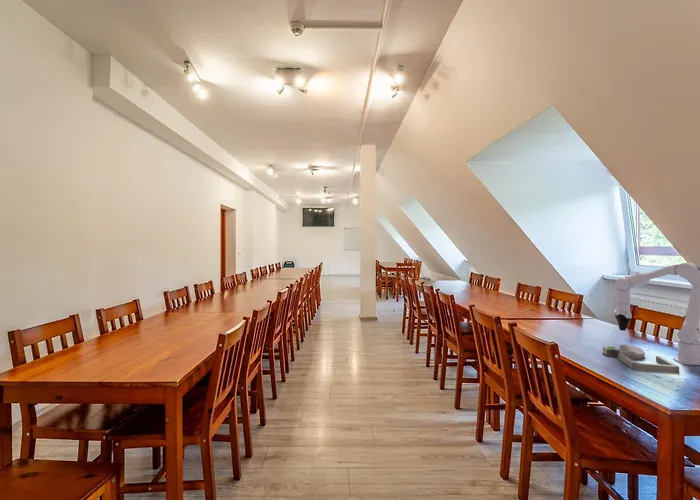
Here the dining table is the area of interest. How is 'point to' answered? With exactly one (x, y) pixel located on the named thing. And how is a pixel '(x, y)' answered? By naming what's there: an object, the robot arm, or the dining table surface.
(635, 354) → the stone block
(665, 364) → the corral
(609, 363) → the dining table surface
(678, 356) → the robot arm
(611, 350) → the button box
